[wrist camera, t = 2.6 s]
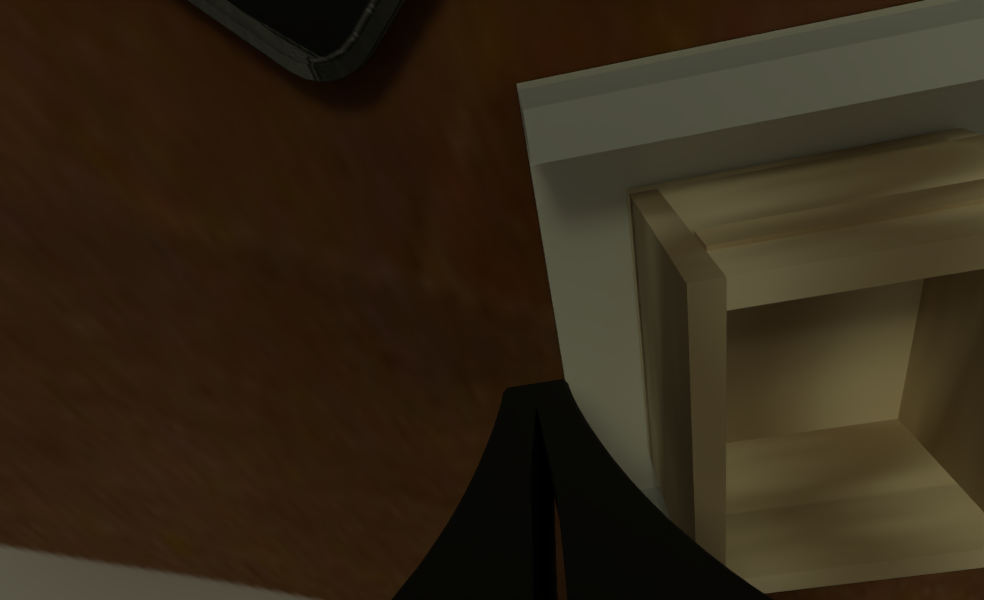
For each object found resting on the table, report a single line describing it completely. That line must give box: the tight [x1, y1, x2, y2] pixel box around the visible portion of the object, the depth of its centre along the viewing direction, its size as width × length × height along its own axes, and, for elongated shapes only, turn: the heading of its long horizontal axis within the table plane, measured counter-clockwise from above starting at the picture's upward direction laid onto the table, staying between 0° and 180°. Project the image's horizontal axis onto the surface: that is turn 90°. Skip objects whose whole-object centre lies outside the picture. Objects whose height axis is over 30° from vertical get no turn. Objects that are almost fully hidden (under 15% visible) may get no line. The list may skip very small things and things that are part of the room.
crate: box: [627, 128, 984, 594], centre depth 13 cm, size 7×8×4 cm
